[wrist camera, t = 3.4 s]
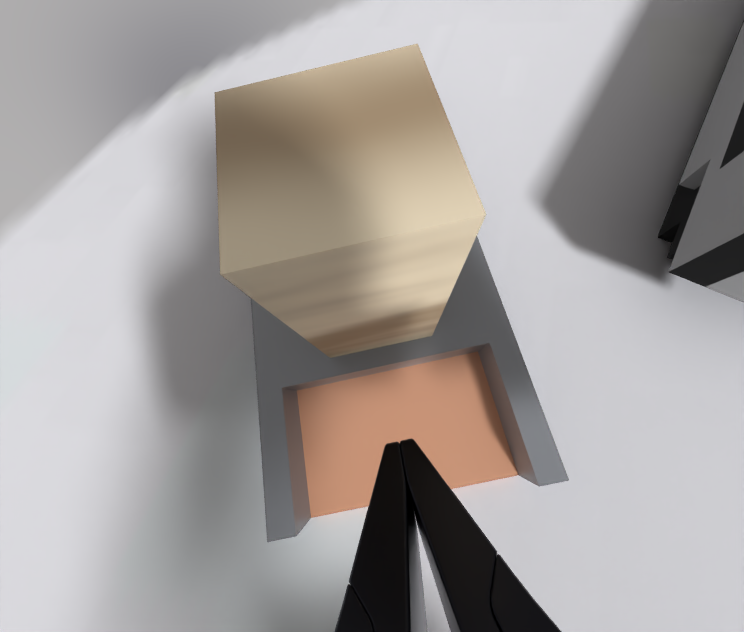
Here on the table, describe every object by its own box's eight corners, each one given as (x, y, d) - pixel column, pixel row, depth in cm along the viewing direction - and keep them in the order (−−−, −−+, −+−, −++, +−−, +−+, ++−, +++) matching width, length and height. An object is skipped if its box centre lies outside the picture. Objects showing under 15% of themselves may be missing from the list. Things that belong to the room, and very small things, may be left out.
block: (432, 335, 14) (486, 214, 5) (330, 358, 14) (220, 274, 5) (407, 247, 15) (417, 43, 7) (316, 267, 15) (214, 92, 7)
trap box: (539, 468, 14) (569, 480, 11) (289, 519, 14) (267, 542, 12) (406, 90, 22) (407, 53, 20) (254, 127, 23) (237, 94, 20)
